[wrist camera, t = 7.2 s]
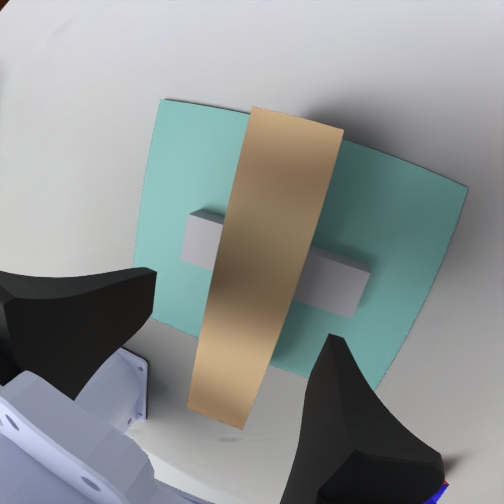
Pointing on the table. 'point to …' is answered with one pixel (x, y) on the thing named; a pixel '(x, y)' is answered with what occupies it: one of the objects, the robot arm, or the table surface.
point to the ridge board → (321, 248)
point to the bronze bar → (260, 257)
